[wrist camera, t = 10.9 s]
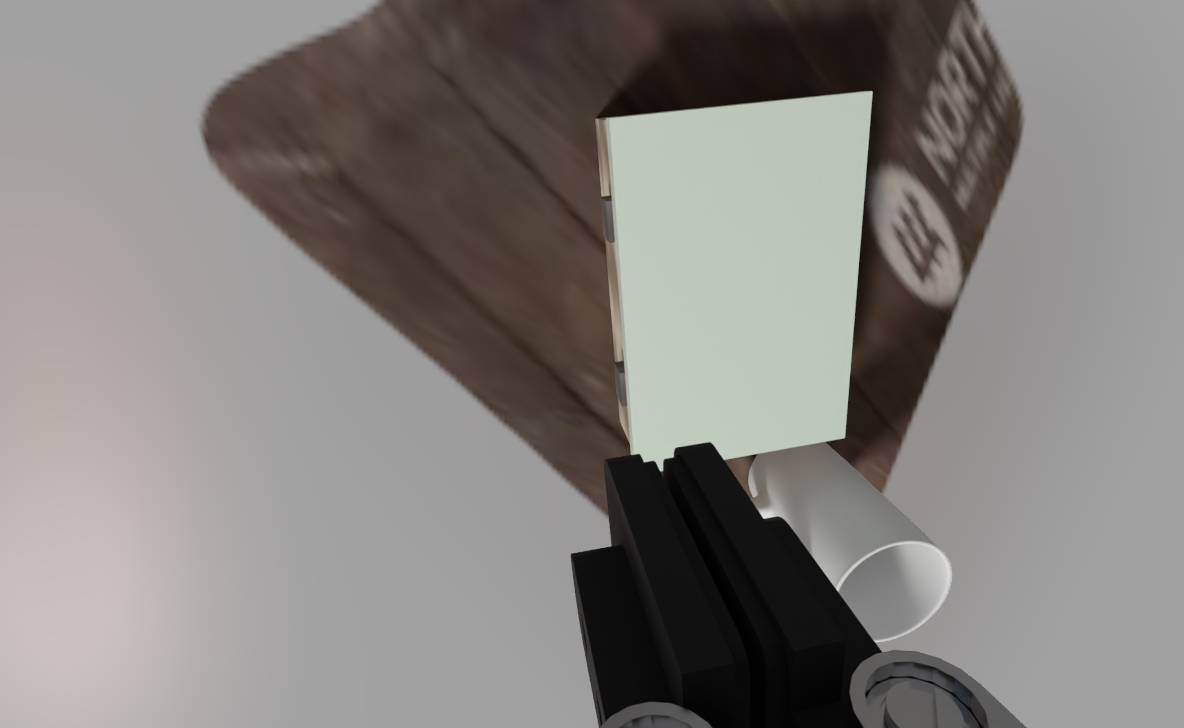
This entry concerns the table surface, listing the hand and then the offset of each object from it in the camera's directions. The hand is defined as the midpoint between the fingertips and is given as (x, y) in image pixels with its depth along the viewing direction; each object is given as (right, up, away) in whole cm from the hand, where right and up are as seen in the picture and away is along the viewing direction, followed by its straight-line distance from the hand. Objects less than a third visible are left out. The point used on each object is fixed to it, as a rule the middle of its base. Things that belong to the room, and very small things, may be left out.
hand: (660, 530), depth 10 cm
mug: (+11, -5, +34) cm, 36 cm away
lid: (+6, +6, +23) cm, 24 cm away
